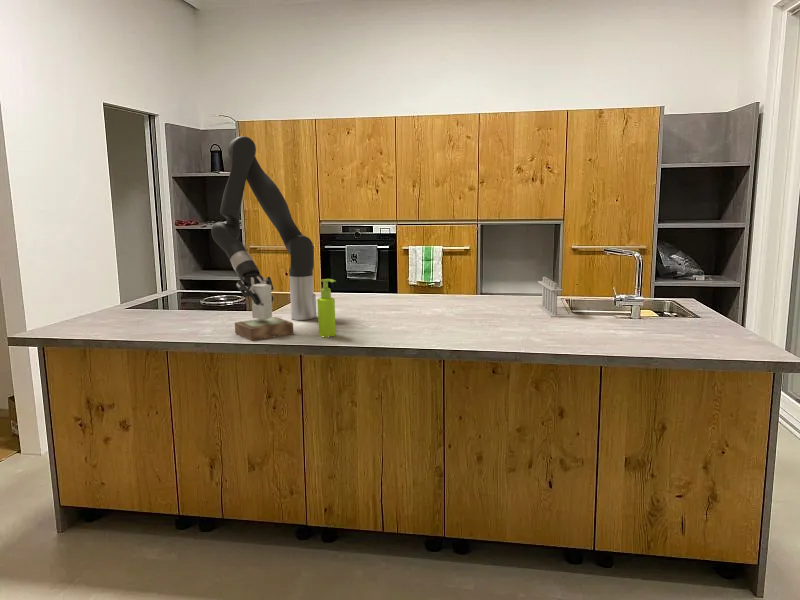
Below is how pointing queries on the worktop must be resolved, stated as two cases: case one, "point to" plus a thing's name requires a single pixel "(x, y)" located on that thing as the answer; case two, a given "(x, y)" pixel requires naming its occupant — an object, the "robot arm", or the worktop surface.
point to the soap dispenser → (326, 311)
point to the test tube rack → (549, 297)
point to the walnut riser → (263, 328)
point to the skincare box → (262, 302)
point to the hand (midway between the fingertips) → (265, 302)
